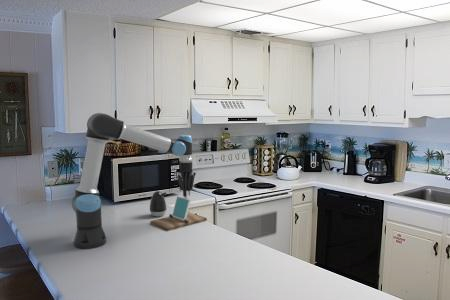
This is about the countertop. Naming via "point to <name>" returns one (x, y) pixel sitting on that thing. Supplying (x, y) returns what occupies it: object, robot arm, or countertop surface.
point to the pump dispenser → (158, 204)
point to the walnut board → (177, 221)
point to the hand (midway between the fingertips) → (186, 201)
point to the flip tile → (181, 208)
